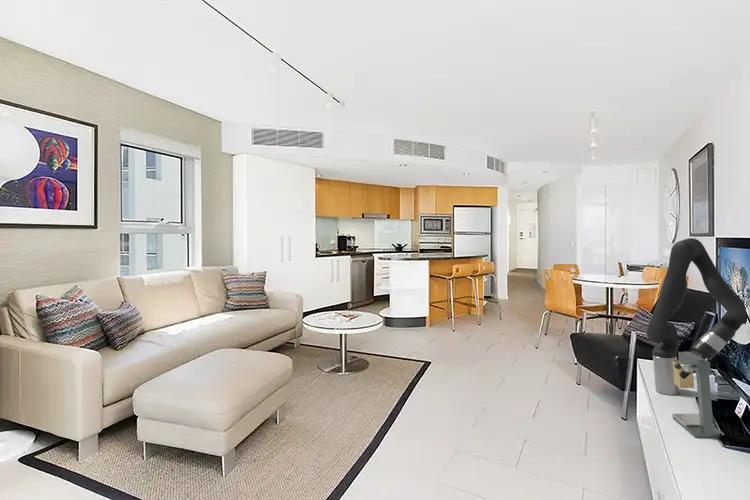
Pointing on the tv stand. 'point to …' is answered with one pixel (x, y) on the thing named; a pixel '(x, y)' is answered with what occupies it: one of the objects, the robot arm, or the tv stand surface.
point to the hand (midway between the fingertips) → (678, 374)
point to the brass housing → (681, 382)
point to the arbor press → (703, 421)
